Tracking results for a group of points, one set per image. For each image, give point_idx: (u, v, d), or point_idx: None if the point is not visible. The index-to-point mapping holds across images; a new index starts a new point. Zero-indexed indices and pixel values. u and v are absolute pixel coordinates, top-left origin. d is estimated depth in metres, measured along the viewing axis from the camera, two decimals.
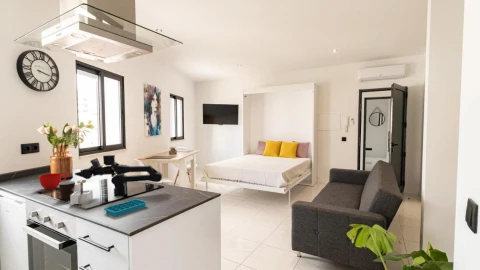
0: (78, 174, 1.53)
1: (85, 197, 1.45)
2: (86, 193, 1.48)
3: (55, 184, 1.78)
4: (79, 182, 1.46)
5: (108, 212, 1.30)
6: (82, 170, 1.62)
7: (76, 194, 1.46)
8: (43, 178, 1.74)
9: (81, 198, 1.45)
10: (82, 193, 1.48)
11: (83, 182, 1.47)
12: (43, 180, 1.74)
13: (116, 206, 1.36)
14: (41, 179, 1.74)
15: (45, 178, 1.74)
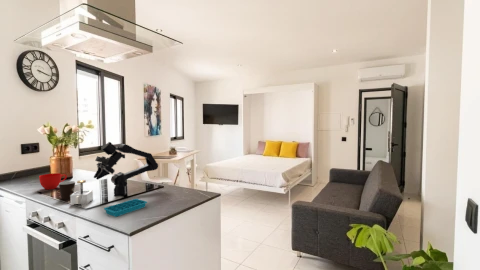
0: (100, 176, 1.52)
1: (85, 197, 1.45)
2: (86, 193, 1.48)
3: (55, 184, 1.78)
4: (79, 182, 1.46)
5: (108, 212, 1.30)
6: (95, 175, 1.56)
7: (76, 194, 1.46)
8: (43, 178, 1.74)
9: (81, 198, 1.45)
10: (82, 193, 1.48)
11: (83, 182, 1.47)
12: (43, 180, 1.74)
13: (116, 206, 1.36)
14: (41, 179, 1.74)
15: (45, 178, 1.74)
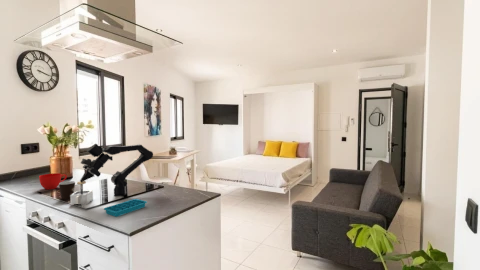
0: (84, 179, 1.49)
1: (85, 197, 1.45)
2: None
3: (55, 184, 1.78)
4: (79, 183, 1.46)
5: (108, 212, 1.29)
6: None
7: None
8: (43, 178, 1.74)
9: (81, 198, 1.45)
10: None
11: (83, 183, 1.47)
12: (43, 180, 1.74)
13: (116, 206, 1.36)
14: (41, 179, 1.74)
15: (45, 178, 1.74)
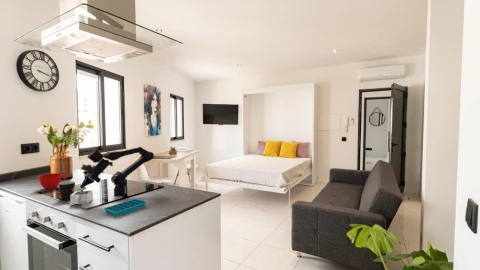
0: (84, 185, 1.49)
1: (85, 197, 1.45)
2: None
3: (55, 184, 1.78)
4: (79, 189, 1.46)
5: (108, 212, 1.29)
6: None
7: None
8: (43, 178, 1.74)
9: (81, 198, 1.45)
10: None
11: (83, 189, 1.48)
12: (43, 180, 1.74)
13: (116, 206, 1.36)
14: (41, 179, 1.74)
15: (45, 178, 1.74)
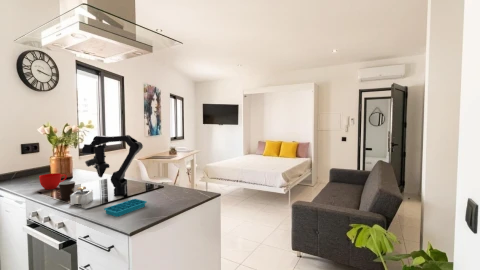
0: (101, 174, 1.63)
1: (85, 197, 1.45)
2: None
3: (55, 184, 1.78)
4: (79, 189, 1.46)
5: (109, 212, 1.29)
6: (99, 175, 1.65)
7: None
8: (43, 178, 1.74)
9: (81, 198, 1.45)
10: None
11: (83, 189, 1.48)
12: (43, 180, 1.74)
13: (116, 206, 1.36)
14: (41, 179, 1.74)
15: (45, 178, 1.74)
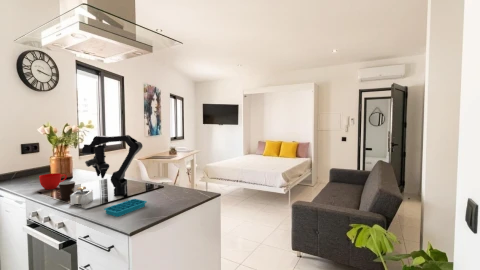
0: (103, 175, 1.61)
1: (85, 197, 1.45)
2: None
3: (55, 184, 1.78)
4: (79, 189, 1.46)
5: (109, 212, 1.29)
6: (97, 174, 1.67)
7: None
8: (43, 178, 1.74)
9: (81, 198, 1.45)
10: None
11: (83, 189, 1.48)
12: (43, 180, 1.74)
13: (115, 206, 1.36)
14: (41, 179, 1.74)
15: (45, 178, 1.74)
